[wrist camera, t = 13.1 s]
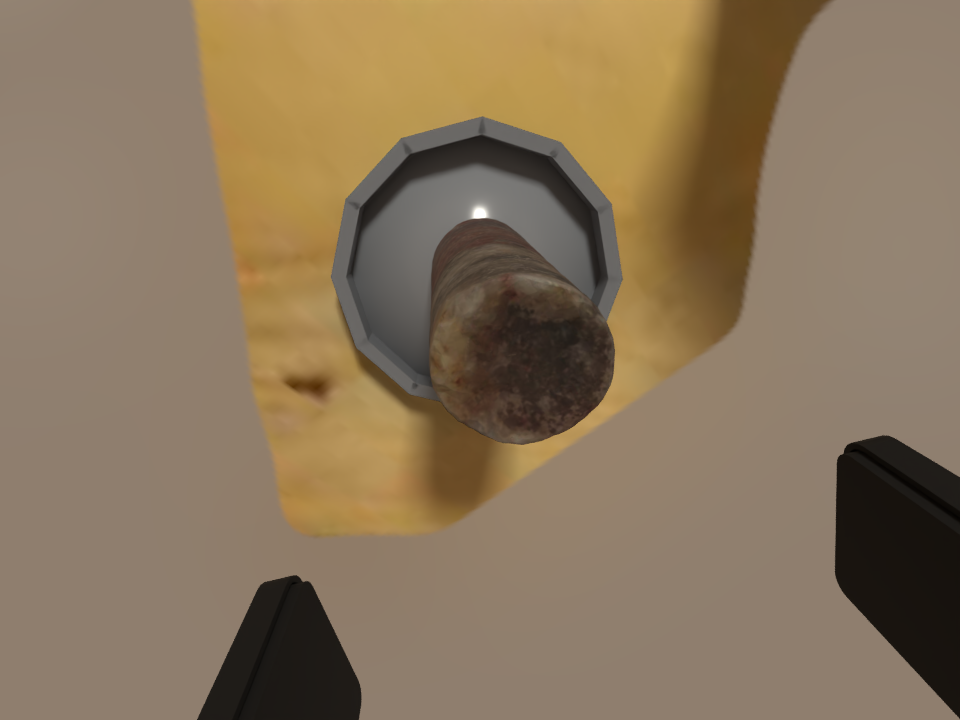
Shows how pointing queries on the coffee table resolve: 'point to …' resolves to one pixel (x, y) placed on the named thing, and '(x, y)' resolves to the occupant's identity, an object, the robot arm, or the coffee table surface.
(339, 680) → the robot arm
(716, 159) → the coffee table surface
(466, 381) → the mottled brown cylinder
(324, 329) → the coffee table surface
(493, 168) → the round tray
